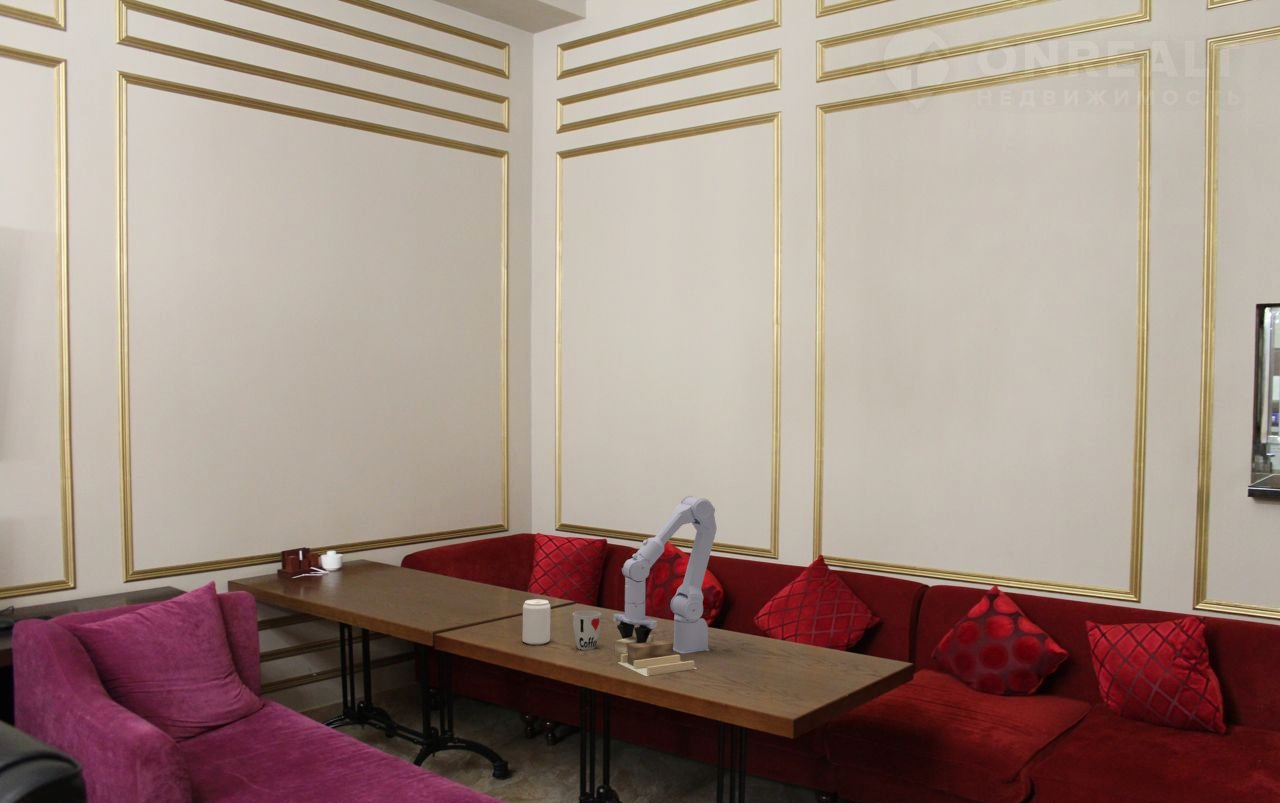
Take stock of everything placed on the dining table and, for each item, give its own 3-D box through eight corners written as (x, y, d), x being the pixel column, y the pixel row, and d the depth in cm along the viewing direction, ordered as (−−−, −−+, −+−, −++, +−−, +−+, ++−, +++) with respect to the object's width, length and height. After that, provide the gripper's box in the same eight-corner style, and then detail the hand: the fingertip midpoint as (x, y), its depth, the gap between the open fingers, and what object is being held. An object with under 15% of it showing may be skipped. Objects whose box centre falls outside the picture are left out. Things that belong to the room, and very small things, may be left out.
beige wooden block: (642, 651, 280) (642, 633, 280) (653, 653, 278) (653, 635, 278) (615, 658, 271) (615, 640, 271) (626, 661, 269) (626, 643, 269)
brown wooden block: (665, 658, 270) (665, 640, 270) (673, 661, 266) (673, 643, 266) (627, 663, 264) (627, 644, 264) (634, 666, 260) (635, 648, 260)
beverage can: (517, 643, 287) (517, 602, 287) (532, 637, 294) (533, 598, 294) (540, 646, 283) (540, 605, 283) (555, 641, 291) (555, 600, 291)
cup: (575, 652, 278) (575, 616, 278) (569, 645, 285) (570, 611, 286) (603, 650, 280) (603, 615, 280) (596, 644, 288) (597, 609, 288)
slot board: (667, 657, 272) (667, 648, 272) (697, 670, 259) (697, 660, 259) (617, 664, 264) (617, 655, 264) (645, 678, 251) (645, 668, 251)
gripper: (606, 600, 276) (605, 648, 276) (645, 607, 267) (645, 657, 267) (622, 597, 282) (622, 644, 282) (662, 604, 272) (661, 652, 272)
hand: (634, 650), depth 275 cm, fingers closed on beige wooden block, 4 cm apart
